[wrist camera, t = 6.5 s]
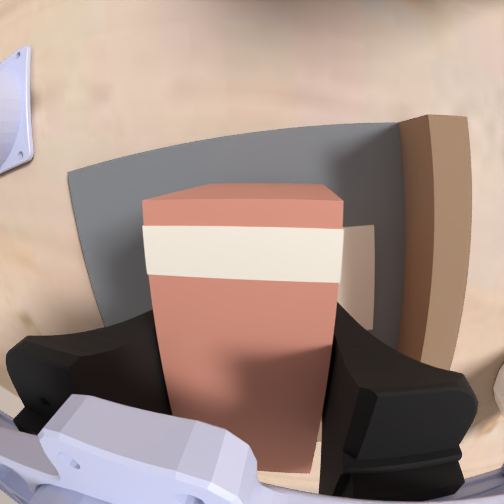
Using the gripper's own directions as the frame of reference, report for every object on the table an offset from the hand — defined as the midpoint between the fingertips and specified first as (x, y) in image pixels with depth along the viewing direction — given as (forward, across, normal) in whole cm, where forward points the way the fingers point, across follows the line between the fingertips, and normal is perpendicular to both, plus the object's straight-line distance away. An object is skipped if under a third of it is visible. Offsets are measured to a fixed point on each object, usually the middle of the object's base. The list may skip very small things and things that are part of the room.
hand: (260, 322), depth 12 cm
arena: (+4, +1, 0) cm, 4 cm away
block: (+2, 0, 0) cm, 2 cm away
